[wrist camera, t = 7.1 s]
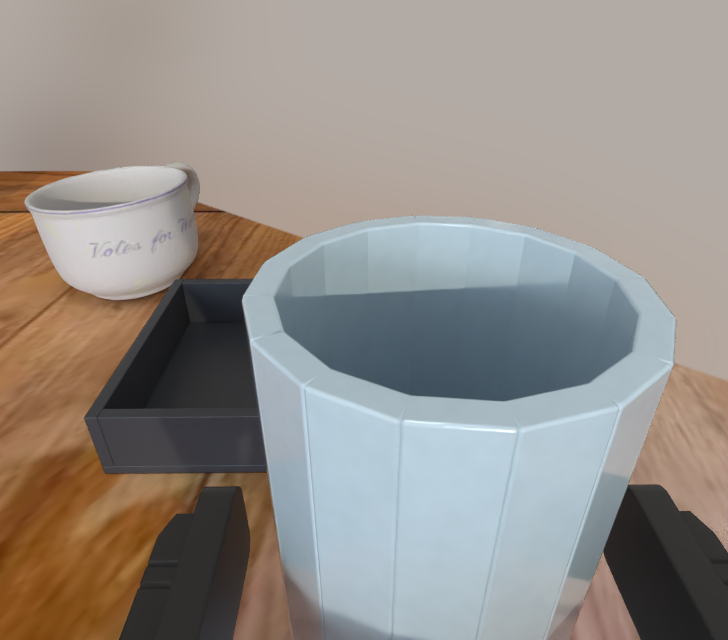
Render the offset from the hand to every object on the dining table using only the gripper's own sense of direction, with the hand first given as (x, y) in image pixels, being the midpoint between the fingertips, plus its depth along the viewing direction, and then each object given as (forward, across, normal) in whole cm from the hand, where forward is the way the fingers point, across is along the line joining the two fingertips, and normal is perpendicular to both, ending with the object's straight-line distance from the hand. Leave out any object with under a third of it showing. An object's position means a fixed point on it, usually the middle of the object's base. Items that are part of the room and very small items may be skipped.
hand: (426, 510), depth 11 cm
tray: (+16, +7, +10) cm, 20 cm away
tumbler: (0, 0, +10) cm, 10 cm away
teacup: (+31, +18, +10) cm, 37 cm away
